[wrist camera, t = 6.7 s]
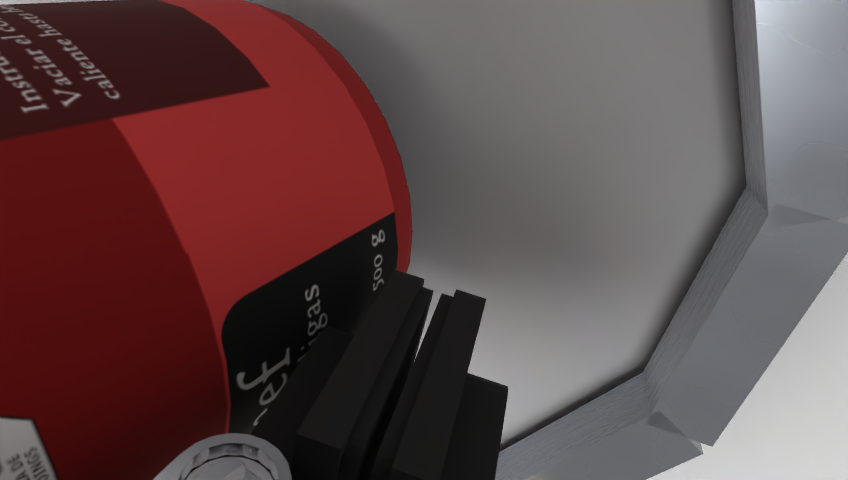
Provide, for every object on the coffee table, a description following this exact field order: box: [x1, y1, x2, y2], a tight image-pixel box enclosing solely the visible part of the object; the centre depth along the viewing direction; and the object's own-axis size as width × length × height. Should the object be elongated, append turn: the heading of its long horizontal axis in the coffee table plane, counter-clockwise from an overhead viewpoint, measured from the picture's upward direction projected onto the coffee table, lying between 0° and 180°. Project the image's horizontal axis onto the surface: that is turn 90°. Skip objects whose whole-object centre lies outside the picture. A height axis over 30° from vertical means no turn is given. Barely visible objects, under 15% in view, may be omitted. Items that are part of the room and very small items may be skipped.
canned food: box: [0, 0, 413, 480], centre depth 9 cm, size 8×8×11 cm
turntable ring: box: [495, 0, 848, 480], centre depth 12 cm, size 22×22×3 cm
